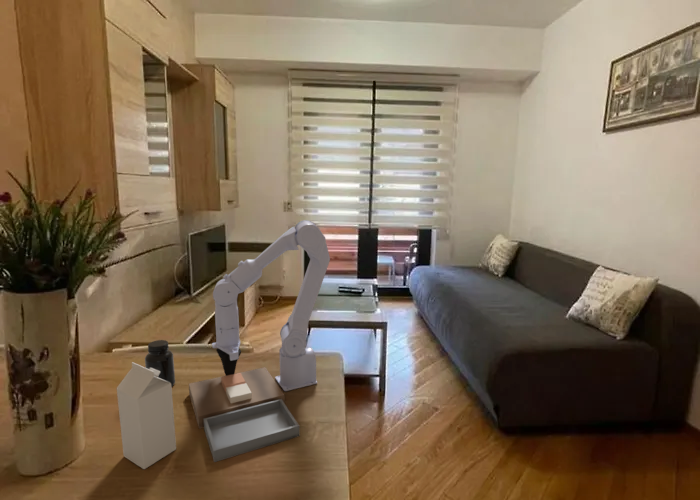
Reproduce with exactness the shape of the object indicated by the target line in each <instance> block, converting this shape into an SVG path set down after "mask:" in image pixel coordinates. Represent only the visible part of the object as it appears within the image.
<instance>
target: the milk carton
mask: <svg viewBox="0 0 700 500" xmlns="http://www.w3.org/2000/svg"><path fill="white" fill-rule="evenodd" d="M159 374H160V371H158V370H156V369H153V368H150V369H147V368H146V367H144V366H142V365H141V364H138V363H135V362H134V361H132V362H131V369H130V370H129V371H128V372H127V374H126V375H125V376H124V377H123V379H122V380H121V381H120V383H119V384H118V386H116V395H117V404H118V405H117V406H118V413H119V414H118V415H119V416H118V417H119V424H120V432H121V433H120V434H121V443H122V451H123V452H122V453H123V457H125V458H126V459H127V460H128V461H130V462H132V463H134V464H135V465H136V466H138V467H140V468H141V469H142V470H146V469H147V468H148V467H151V466H152V465H154V464H155V463H157V462H159V461H160V460H162V458H163V459H164V458H165V457H166V456H168V455H170V454H171V453H173V452H174V451H176V450H177V442H176V428H175V427H176V426H175V416H174V414H175V413H174V404H173V403H174V402H173V389H172V387H173V386H172V387H171V383H170V382H167V381H165V380H163V379H161V378H159V377H158V376H159Z"/></svg>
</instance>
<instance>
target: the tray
mask: <svg viewBox="0 0 700 500" xmlns="http://www.w3.org/2000/svg"><path fill="white" fill-rule="evenodd" d="M203 429H204V433H205V437H206V440H207V443H208V445H209V446H208V447H209V450H210V452H211V456H212V459H213V463H216V462H220V461H222V460H226V459H229V458H232V457H236V456H238V455H243V454H246V453H249V452H252V451H255V450H258V449H262V448H266V447H268V446H271V445H275V444H278V443H281V442H285V441H289V440H291V439H295V438H298V437H300V434H301V433H300V424H299V423H298V422H297V420H296V418H295V417H294V415H293V414H292V412H291V411H290V410H289V408H288V406H287V405H286V404H284V402H283V401H282V399H279V400H275V401H271V402H267V403H263V404H259V405H255V406H252V407H248V408H244V409H240V410H236V411H232V412H228V413H224V414H220V415H216V416H212V417H209V418H205V419H204V427H203Z"/></svg>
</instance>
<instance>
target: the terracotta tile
mask: <svg viewBox="0 0 700 500" xmlns="http://www.w3.org/2000/svg"><path fill="white" fill-rule="evenodd" d="M220 377H221V383H222V385H223V387H224V390H225V391H226V388H227V387H232V386H236V385H240V384H245V380H244V378H243V376H242V374H241V372H237V374H236V373H234V374H232V375H228V376H226V375H223V377H222V376H220Z"/></svg>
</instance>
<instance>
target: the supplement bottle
mask: <svg viewBox="0 0 700 500" xmlns="http://www.w3.org/2000/svg"><path fill="white" fill-rule="evenodd" d="M147 352H148V353H147V354H146V355H145V357H144V364H145V368H147V369H150V368H153V369H156V370H158V371H160V374H159V376H158V377H159V378H161V379H163V380H165V381H167V382H170V383H171V387H174V385H175V383H176V375H175V374H176V373H175V361H174V359H175V358H174V353H173V351H171V350H170V348H169V342H168V340H166V339H158V340H154V341H150V342H149V343H148V345H147Z"/></svg>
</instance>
